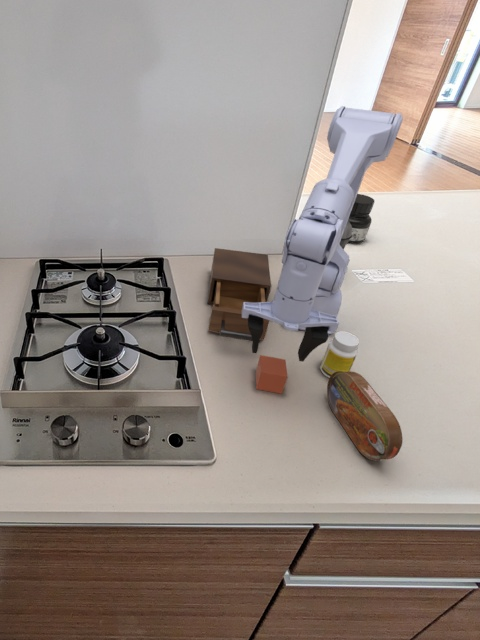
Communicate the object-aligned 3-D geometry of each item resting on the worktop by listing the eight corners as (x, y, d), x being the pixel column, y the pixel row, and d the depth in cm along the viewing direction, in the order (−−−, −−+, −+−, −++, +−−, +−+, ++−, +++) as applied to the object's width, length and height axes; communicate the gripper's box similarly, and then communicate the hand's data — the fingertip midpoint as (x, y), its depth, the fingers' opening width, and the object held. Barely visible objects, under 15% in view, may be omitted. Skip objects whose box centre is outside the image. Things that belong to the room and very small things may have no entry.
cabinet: (264, 312, 97) (271, 285, 93) (207, 304, 100) (212, 277, 96) (261, 279, 108) (267, 254, 104) (210, 273, 111) (214, 247, 107)
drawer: (265, 355, 85) (271, 333, 82) (206, 345, 88) (210, 323, 84) (261, 304, 99) (266, 283, 95) (211, 296, 101) (214, 276, 98)
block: (280, 376, 82) (285, 359, 79) (281, 394, 78) (287, 376, 76) (255, 371, 83) (260, 354, 80) (256, 389, 79) (261, 372, 77)
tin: (320, 394, 78) (334, 360, 73) (337, 393, 78) (352, 359, 73) (372, 472, 65) (393, 437, 61) (392, 470, 66) (414, 435, 61)
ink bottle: (326, 239, 125) (339, 200, 119) (331, 226, 131) (343, 189, 125) (364, 247, 121) (379, 208, 114) (367, 234, 127) (381, 196, 120)
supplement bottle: (350, 383, 80) (365, 349, 75) (322, 379, 81) (336, 345, 76) (343, 364, 84) (357, 331, 79) (317, 361, 85) (329, 328, 80)
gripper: (248, 297, 67) (234, 361, 75) (351, 313, 64) (325, 378, 71) (248, 273, 73) (234, 334, 80) (342, 286, 70) (319, 349, 77)
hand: (277, 353), depth 76 cm, fingers open, 7 cm apart
